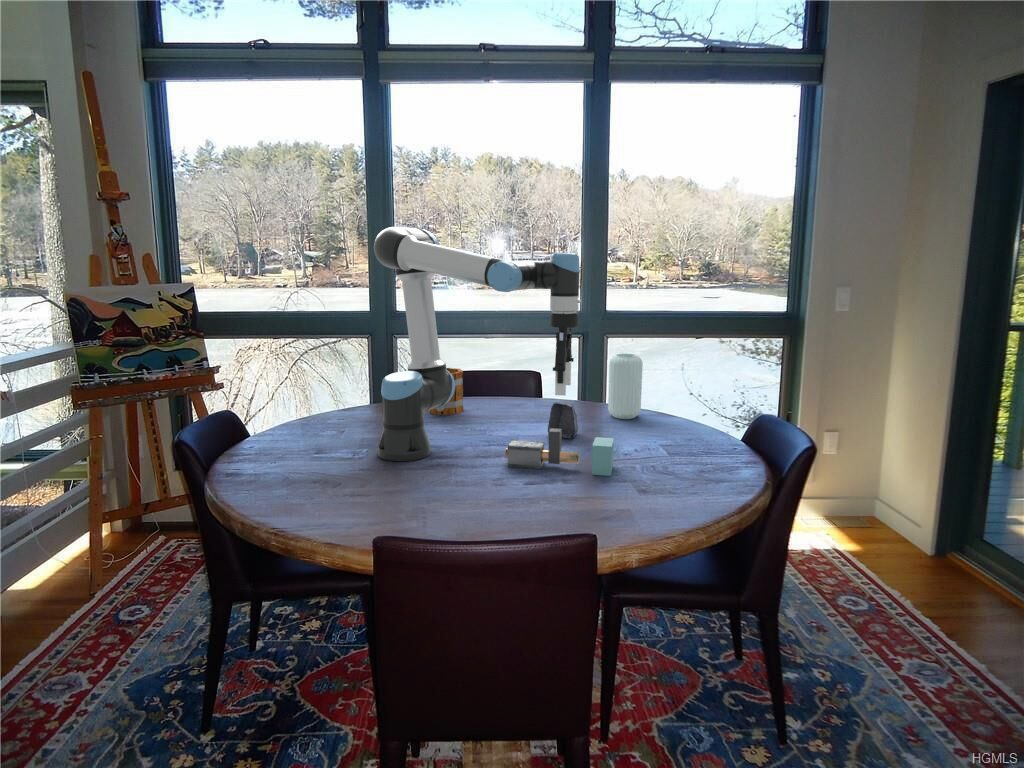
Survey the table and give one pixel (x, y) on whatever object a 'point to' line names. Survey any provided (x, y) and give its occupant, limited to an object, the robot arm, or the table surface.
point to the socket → (602, 456)
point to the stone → (564, 419)
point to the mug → (457, 399)
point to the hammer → (556, 450)
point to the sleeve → (525, 454)
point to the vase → (625, 386)
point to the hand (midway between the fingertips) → (563, 390)
